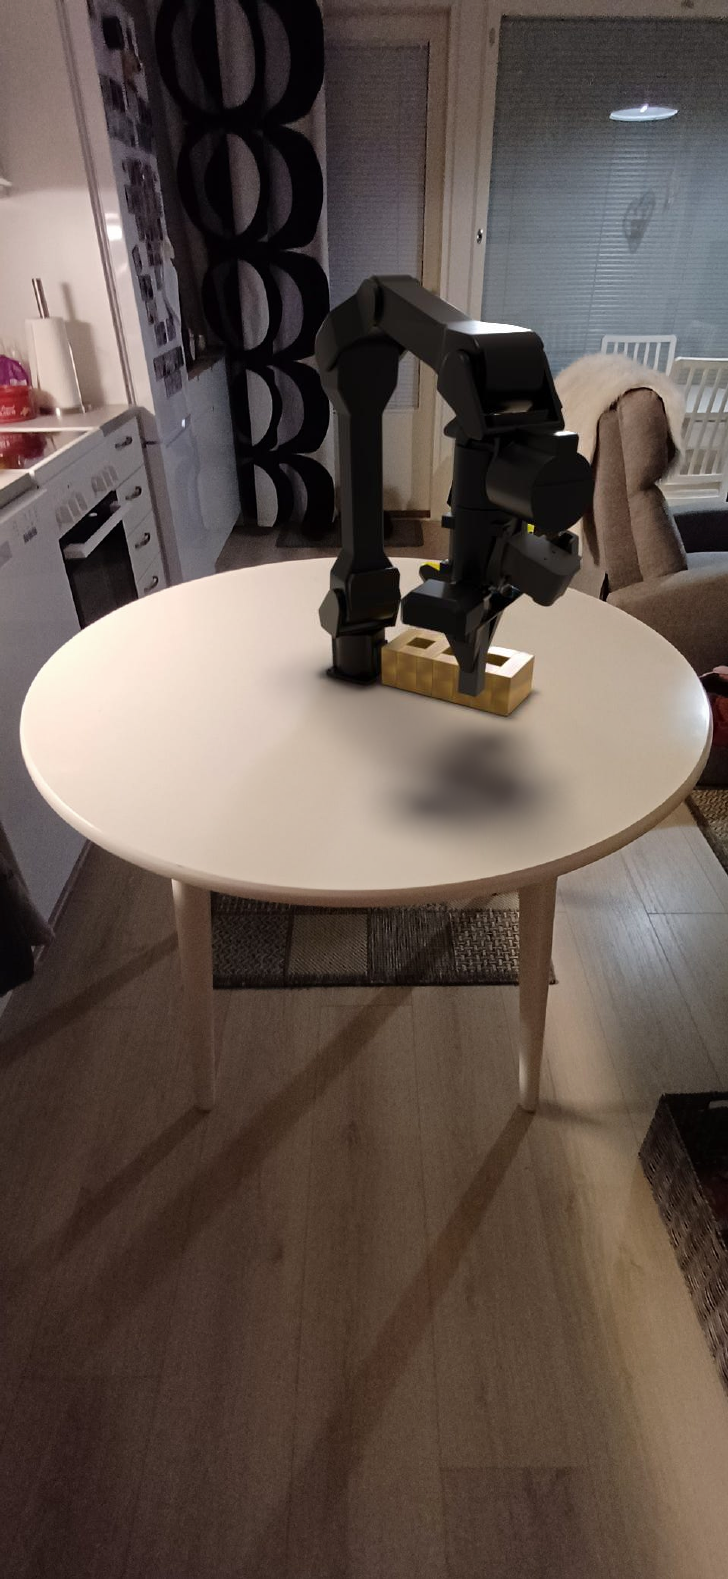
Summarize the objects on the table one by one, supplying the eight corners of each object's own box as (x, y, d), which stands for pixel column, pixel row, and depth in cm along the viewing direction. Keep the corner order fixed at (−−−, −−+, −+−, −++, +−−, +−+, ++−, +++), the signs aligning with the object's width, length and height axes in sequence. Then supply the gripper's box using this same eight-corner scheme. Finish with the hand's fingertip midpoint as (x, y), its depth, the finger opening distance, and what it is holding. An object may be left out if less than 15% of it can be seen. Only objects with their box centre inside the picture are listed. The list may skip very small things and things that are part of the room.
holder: (381, 683, 98) (381, 647, 95) (409, 663, 103) (409, 627, 100) (507, 716, 91) (510, 677, 88) (530, 692, 96) (535, 655, 93)
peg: (457, 692, 76) (462, 605, 71) (466, 684, 77) (472, 598, 72) (475, 697, 75) (482, 609, 70) (484, 689, 77) (492, 602, 71)
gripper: (531, 546, 56) (510, 732, 65) (612, 489, 69) (585, 651, 78) (398, 523, 61) (395, 699, 70) (497, 474, 74) (484, 628, 83)
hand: (472, 667), depth 75 cm, fingers closed on peg, 2 cm apart
